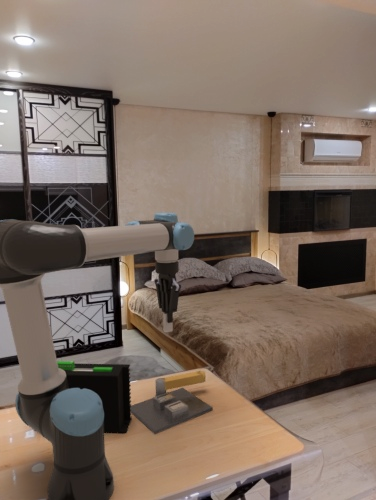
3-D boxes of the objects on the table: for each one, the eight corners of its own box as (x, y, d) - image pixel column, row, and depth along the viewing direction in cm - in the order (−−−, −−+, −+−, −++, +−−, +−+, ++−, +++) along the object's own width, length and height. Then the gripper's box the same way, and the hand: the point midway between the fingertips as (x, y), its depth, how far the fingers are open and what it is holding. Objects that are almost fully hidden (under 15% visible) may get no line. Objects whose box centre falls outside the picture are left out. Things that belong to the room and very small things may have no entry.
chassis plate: (154, 433, 118) (154, 422, 118) (126, 408, 132) (126, 398, 132) (212, 410, 131) (212, 399, 130) (181, 389, 145) (181, 379, 145)
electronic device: (133, 414, 129) (131, 354, 127) (126, 434, 119) (123, 369, 116) (48, 411, 131) (45, 353, 129) (33, 431, 121) (29, 367, 118)
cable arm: (157, 399, 135) (157, 383, 134) (154, 394, 138) (154, 379, 138) (207, 389, 142) (207, 374, 141) (202, 385, 145) (202, 370, 144)
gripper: (187, 262, 126) (188, 334, 129) (166, 257, 137) (167, 324, 140) (167, 264, 122) (168, 339, 125) (146, 259, 133) (148, 328, 136)
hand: (168, 331), depth 133 cm, fingers closed
